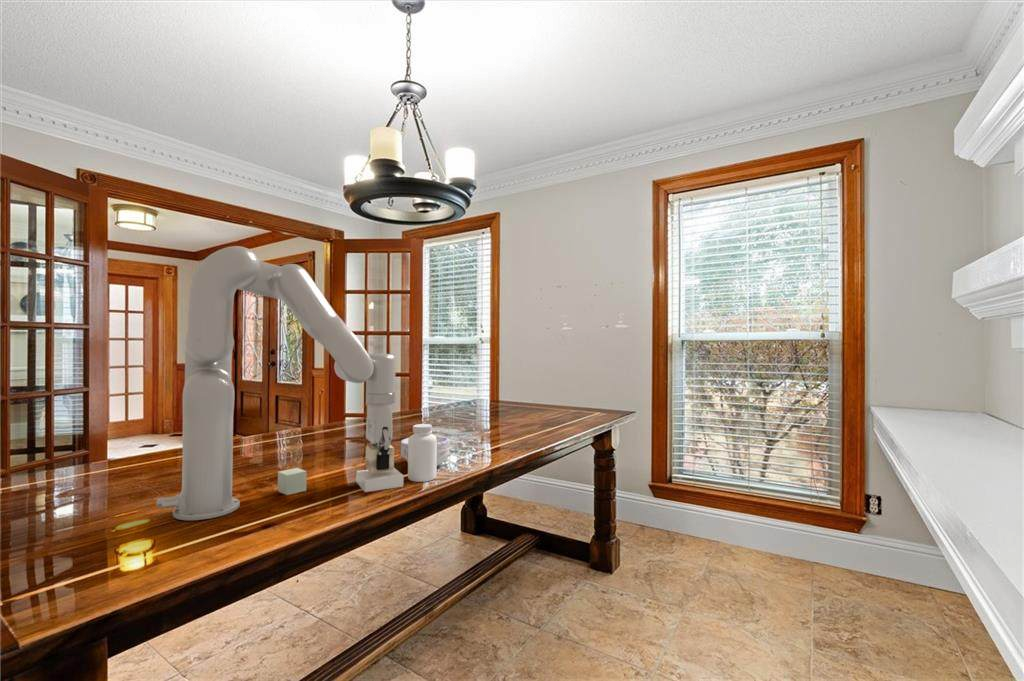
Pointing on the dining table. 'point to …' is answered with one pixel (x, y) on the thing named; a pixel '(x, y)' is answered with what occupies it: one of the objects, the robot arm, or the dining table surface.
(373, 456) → the maple cube
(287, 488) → the sage cube
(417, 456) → the pill bottle
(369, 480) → the plinth
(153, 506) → the dining table surface
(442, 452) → the paper bowls
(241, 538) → the dining table surface
